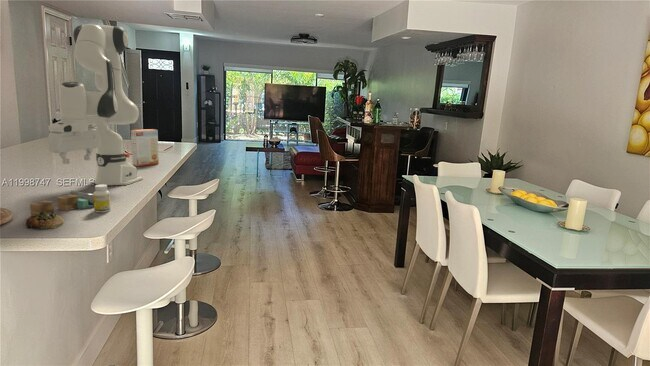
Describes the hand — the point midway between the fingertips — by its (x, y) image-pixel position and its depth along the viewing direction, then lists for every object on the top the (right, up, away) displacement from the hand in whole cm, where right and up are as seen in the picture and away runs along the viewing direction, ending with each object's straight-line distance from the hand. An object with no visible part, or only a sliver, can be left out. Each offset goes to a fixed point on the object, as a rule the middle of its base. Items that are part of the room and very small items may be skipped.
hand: (76, 161), depth 163 cm
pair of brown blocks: (-3, -19, -9) cm, 21 cm away
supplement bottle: (+12, -19, -4) cm, 23 cm away
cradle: (+1, -17, +3) cm, 17 cm away
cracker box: (-11, +3, +89) cm, 90 cm away
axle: (+1, -16, +3) cm, 16 cm away
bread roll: (+3, -23, -22) cm, 32 cm away
